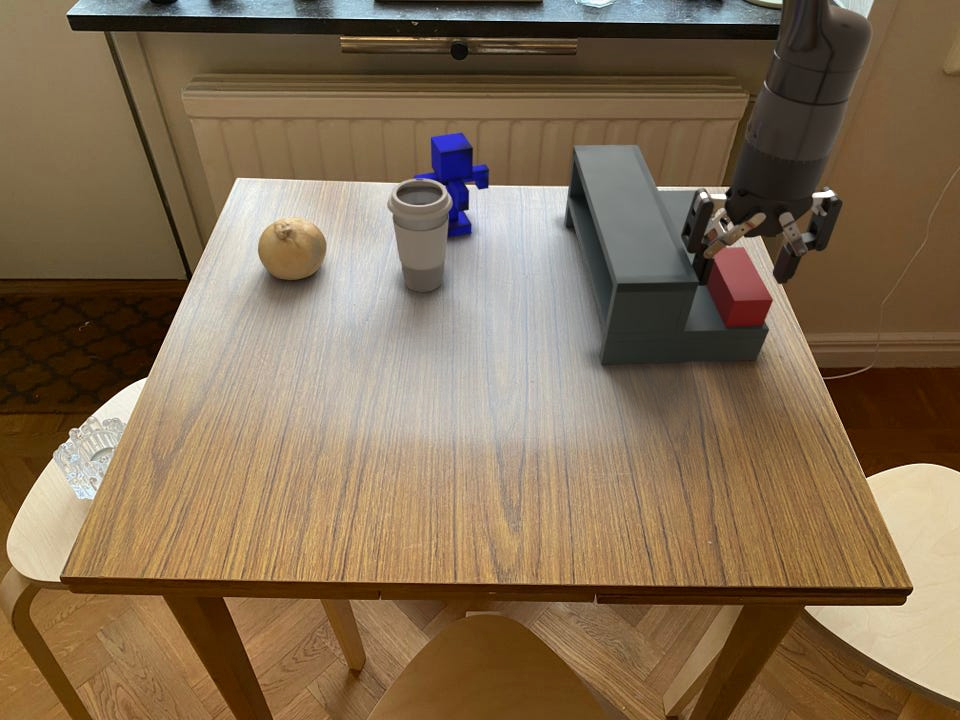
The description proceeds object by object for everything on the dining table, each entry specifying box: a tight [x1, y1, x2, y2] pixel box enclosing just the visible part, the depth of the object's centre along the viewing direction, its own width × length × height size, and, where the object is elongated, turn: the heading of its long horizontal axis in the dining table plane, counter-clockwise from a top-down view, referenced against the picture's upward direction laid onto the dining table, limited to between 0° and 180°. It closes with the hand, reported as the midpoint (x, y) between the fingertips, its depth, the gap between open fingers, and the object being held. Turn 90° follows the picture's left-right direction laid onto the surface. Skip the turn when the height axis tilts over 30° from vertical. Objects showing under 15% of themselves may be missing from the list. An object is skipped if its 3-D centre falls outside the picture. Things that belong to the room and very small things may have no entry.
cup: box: [386, 178, 453, 293], centre depth 81 cm, size 7×7×12 cm
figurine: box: [413, 132, 490, 238], centre depth 89 cm, size 8×8×12 cm
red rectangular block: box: [706, 246, 774, 327], centre depth 75 cm, size 9×4×4 cm, turn 4°
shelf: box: [564, 144, 770, 365], centre depth 81 cm, size 27×17×11 cm, turn 4°
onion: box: [257, 217, 328, 281], centre depth 83 cm, size 8×8×7 cm
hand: (739, 280), depth 75 cm, fingers open, 8 cm apart
